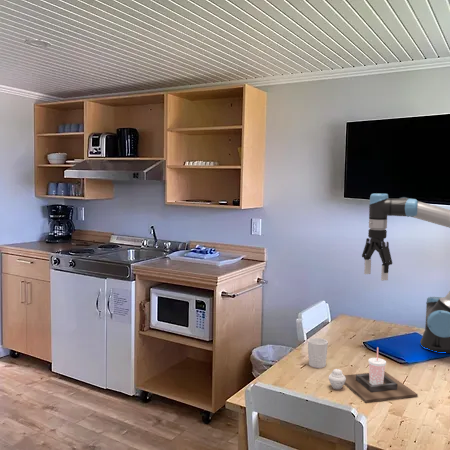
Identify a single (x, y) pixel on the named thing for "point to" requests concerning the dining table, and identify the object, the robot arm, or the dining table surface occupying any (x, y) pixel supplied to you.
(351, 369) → the dining table surface
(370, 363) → the beverage cup
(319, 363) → the white cup
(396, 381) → the cup holder
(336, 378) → the white lidded jar
